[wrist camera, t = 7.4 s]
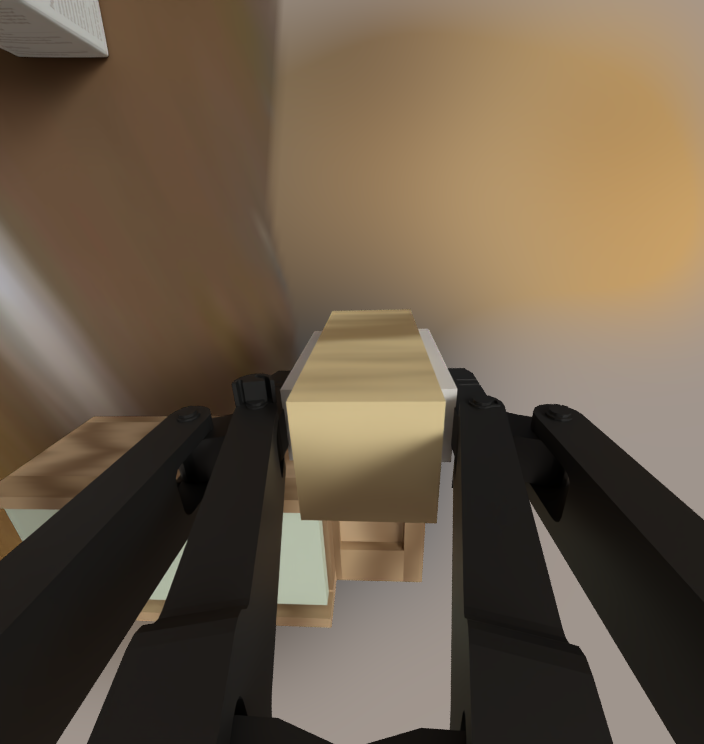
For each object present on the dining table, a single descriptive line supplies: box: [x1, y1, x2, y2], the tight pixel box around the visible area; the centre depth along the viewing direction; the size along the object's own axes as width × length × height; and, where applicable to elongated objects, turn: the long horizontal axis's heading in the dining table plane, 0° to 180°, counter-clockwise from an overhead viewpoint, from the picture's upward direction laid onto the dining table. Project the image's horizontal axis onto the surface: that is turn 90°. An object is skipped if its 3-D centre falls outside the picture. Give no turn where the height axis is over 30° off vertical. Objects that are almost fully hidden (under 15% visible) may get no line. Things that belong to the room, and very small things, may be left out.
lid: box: [5, 509, 329, 605], centre depth 24 cm, size 21×9×3 cm, turn 92°
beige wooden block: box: [286, 309, 446, 523], centre depth 14 cm, size 4×4×10 cm
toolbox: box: [0, 416, 425, 627], centre depth 28 cm, size 29×12×10 cm, turn 92°
